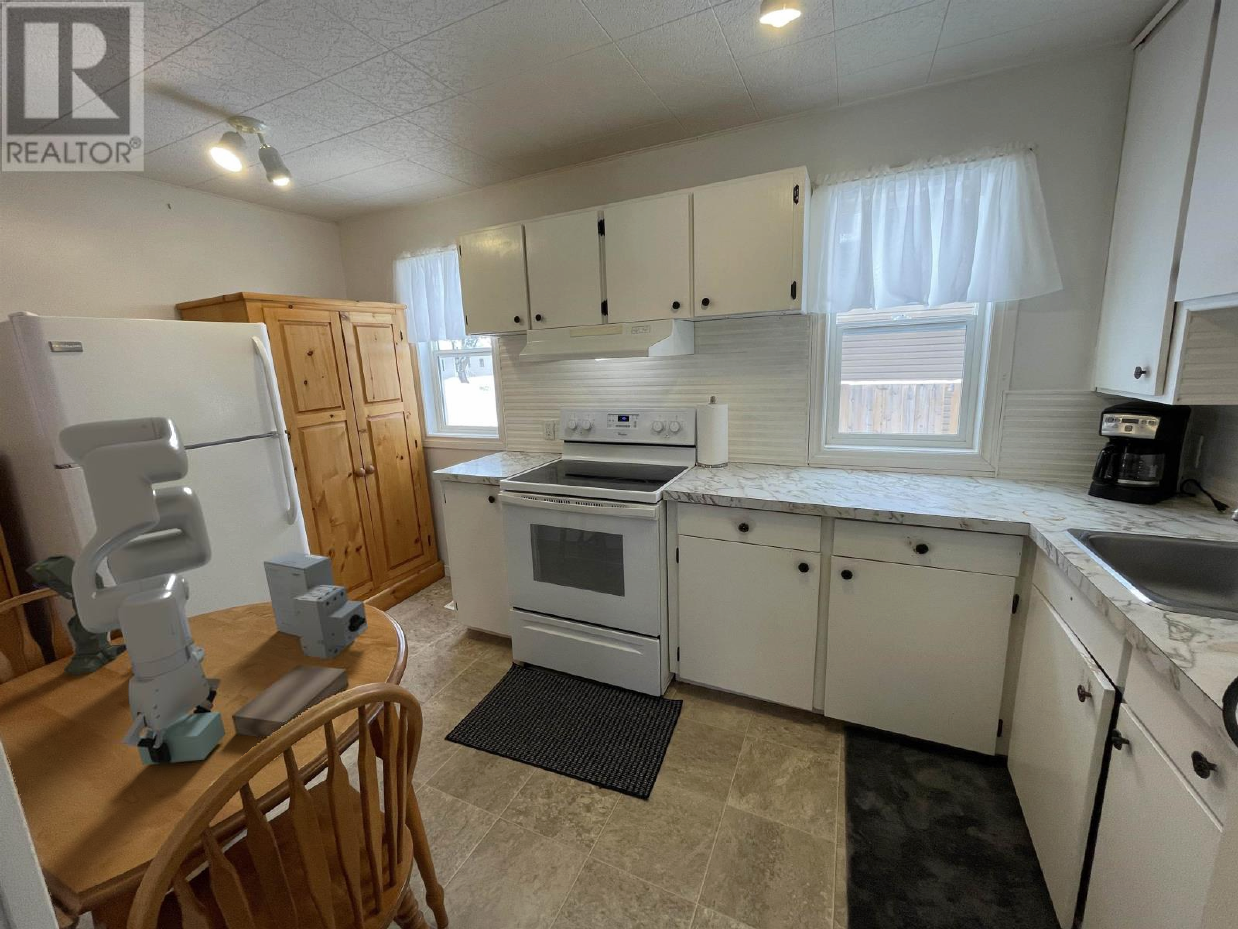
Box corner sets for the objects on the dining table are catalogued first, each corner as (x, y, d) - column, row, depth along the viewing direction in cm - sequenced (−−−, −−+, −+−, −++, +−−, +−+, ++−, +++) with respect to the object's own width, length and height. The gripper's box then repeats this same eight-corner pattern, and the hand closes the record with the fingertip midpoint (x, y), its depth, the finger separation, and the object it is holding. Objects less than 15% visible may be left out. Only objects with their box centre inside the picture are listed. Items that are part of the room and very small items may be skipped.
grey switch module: (343, 627, 134) (331, 557, 130) (317, 642, 127) (303, 569, 123) (303, 617, 140) (290, 550, 135) (276, 631, 133) (261, 561, 128)
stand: (235, 733, 97) (231, 715, 96) (301, 680, 112) (298, 664, 112) (289, 740, 95) (285, 722, 94) (348, 685, 110) (345, 669, 109)
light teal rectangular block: (142, 765, 89) (135, 741, 88) (168, 739, 95) (162, 716, 94) (203, 759, 90) (197, 736, 89) (225, 734, 96) (220, 711, 95)
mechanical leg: (114, 638, 130) (54, 543, 117) (144, 636, 131) (88, 541, 117) (67, 682, 118) (-6, 582, 105) (100, 680, 119) (32, 580, 105)
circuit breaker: (355, 661, 119) (345, 603, 116) (303, 655, 122) (292, 599, 118) (375, 643, 126) (367, 588, 123) (326, 638, 129) (316, 584, 126)
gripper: (194, 630, 97) (213, 709, 101) (85, 690, 80) (114, 781, 85) (226, 633, 95) (245, 713, 100) (122, 695, 79) (150, 788, 83)
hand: (184, 744), depth 92 cm, fingers closed on light teal rectangular block, 7 cm apart
